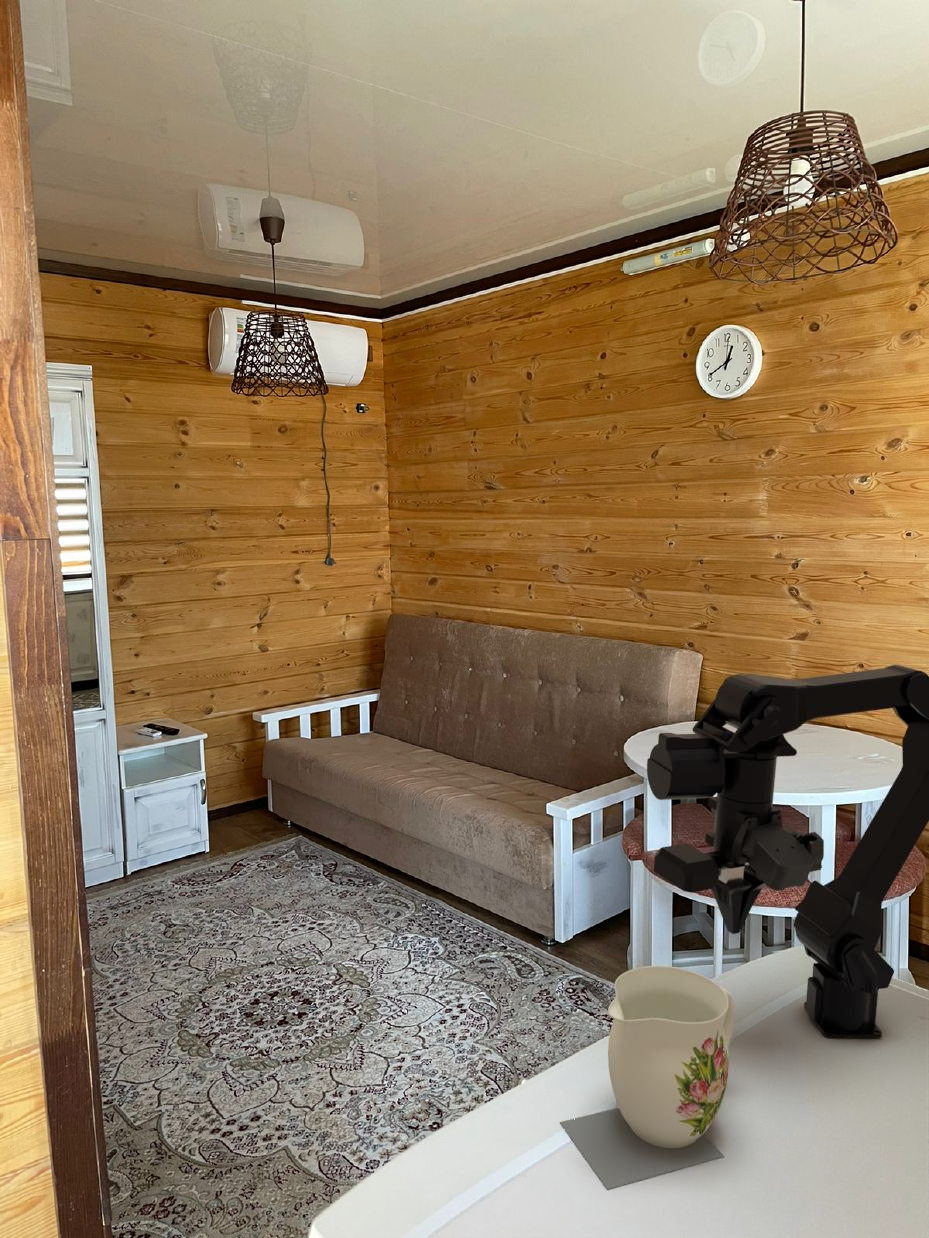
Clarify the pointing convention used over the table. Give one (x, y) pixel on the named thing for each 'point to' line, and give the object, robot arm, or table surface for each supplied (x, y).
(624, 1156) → the slate pad
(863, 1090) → the table surface
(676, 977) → the pitcher
